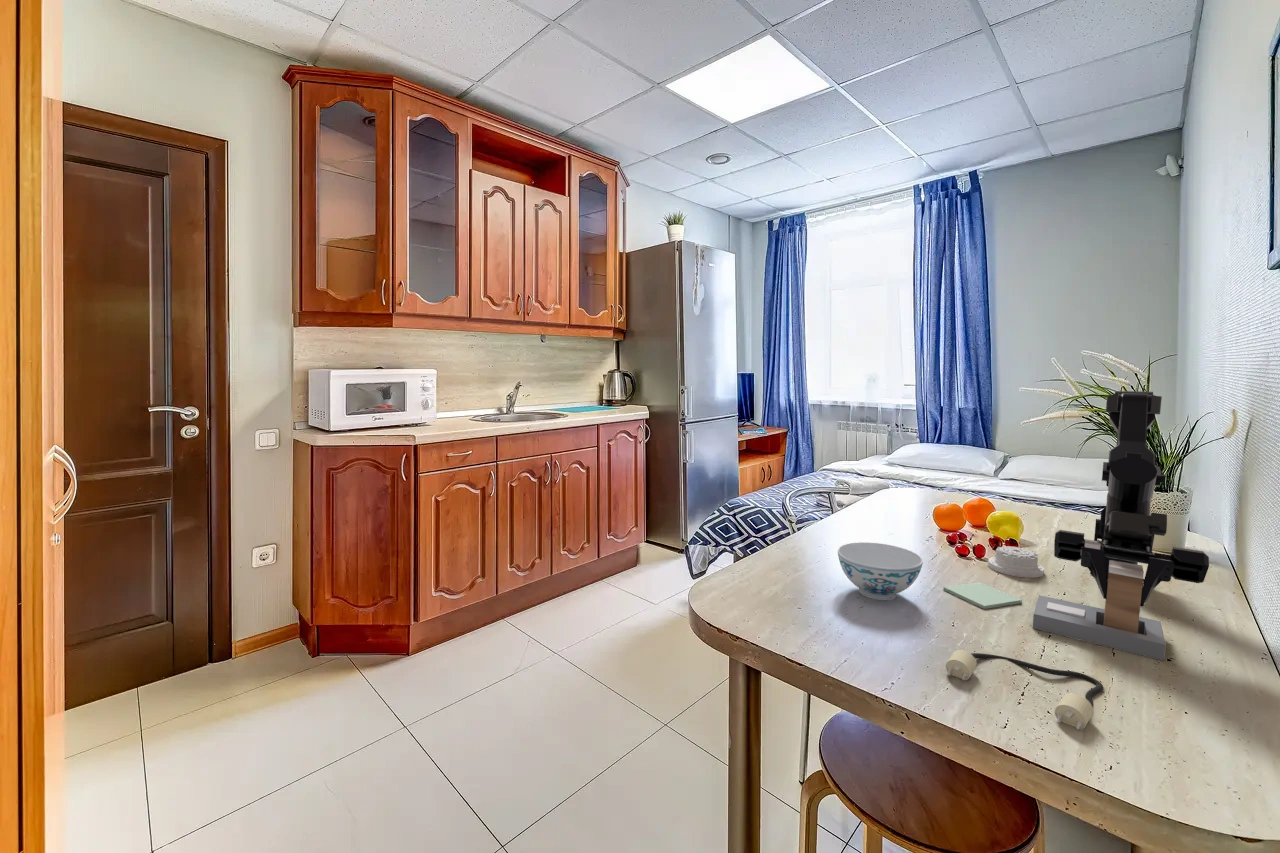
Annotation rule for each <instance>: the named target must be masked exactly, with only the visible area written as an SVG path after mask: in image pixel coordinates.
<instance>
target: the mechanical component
mask: <svg viewBox="0 0 1280 853" xmlns="http://www.w3.org/2000/svg"><path fill="white" fill-rule="evenodd" d="M1038 558H1039V556H1038V553H1037V552H1035V551H1034V550H1029V549H1026V548H1021V547H1017V546H1009V545H1007V546H1006V545H1004V546H997V548H996V549H995V556H992V557H990V558H988V559H987V560H988V561H987V562H988V564H987V566H988V567H989V568H990V569H991V570H993V571H996V572H997V573H1001V574H1004V575H1008V576H1013V577H1019V578H1027V579H1028V578H1030V579H1035V578H1041V577H1043V576H1044V574H1045V568H1044V567H1043V566H1042V565H1041V564H1039V563H1038V560H1039V559H1038Z"/></svg>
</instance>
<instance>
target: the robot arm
mask: <svg viewBox="0 0 1280 853" xmlns="http://www.w3.org/2000/svg"><path fill="white" fill-rule="evenodd" d="M1162 399H1163V398H1162V396H1160V395H1159V396H1158V395H1155V394H1154V392H1153V391H1137V390H1136V391H1133V390H1115V391H1114V393H1113V394H1108V395H1106V403H1105V413H1109V418H1108V419H1109V420H1108V421H1109V424H1110V425H1111V426H1112V428H1113V429H1114V431H1115V432H1116V433H1117V435H1116V444H1115V445H1116V446H1114V447H1113V448H1111V449H1110V450H1109V452H1108V462H1107V461H1103V463H1102V464H1103V465H1102V473H1101V481H1102V482H1106V487H1108V488H1107V495H1106V504H1105V506H1104V507H1103V509H1101V512H1100V518H1096V519H1095V526H1094V536H1093V539H1086V538H1085V533H1084V532H1077V531H1071V530H1064V529H1059V530H1057V531H1056V532H1055V534H1054V543H1053V544H1054V546H1053V548H1054V549H1053V550H1054V552H1053V553H1054V554H1053V555H1054V558H1057V559H1060V560H1065V561H1071V562H1076V563H1077V562H1078V561H1080V566H1081V567H1083V568H1087V569H1088V570H1089V571H1090V572H1089V574H1090V575H1092V577H1093V579H1094V580H1095V582H1096V585H1097V586H1098V589H1099V592H1100V594H1101V596H1102V598H1103V599H1105V600H1106V598H1107V580H1108V570H1109V560H1113V561H1119V562H1125V563H1130V564H1136V565H1139V564H1146V565H1147V566H1146V571H1145V576H1144V578H1143V584H1142V594H1141V604H1140V607H1144V606H1145V605H1146V602H1147V600H1148V598H1149V597H1150V596H1151V594H1152V593H1153V590H1154V589H1156V587H1157V586H1159V585H1160V583H1161V582H1165V583H1166V582H1167V583H1169V582H1171V581H1172V580H1171V579H1172V578H1173V579H1174V580H1178V581H1182V582H1188V583H1193V584H1201V583H1204V581H1205V579H1206V576H1207V573H1208V570H1209V568H1210V558H1209V555H1208V554H1206V553H1205V552H1204V551H1203V550H1196V549H1192V548H1191V549H1189V548H1184V547H1176V546H1173V547H1172V549H1171V553H1170V554H1167V553H1160V552H1154V551H1153V546H1154V540H1155V536H1160V537H1161V536H1163V537H1164V536H1165V535H1166V534H1167V530H1168V528H1167V527H1168V514H1167V513H1166V514H1165V513H1160V512H1159V513H1158V512H1151V503H1152V502H1151V500H1152V498H1153V497H1154V496H1153V495H1154V491H1155V487H1160V486H1161V484H1166V477H1167V476H1166V474H1165V473H1163V471H1162V470H1161V467H1160V466H1156V453H1154V452H1153V451H1152V450H1151V449H1150V448H1148V447H1147V441H1148V440H1147V438H1148V429H1150V428H1151V426H1152V425H1153V423H1154V421H1155V419H1156V418H1155V417H1156V415H1160V414H1161V410H1162Z"/></svg>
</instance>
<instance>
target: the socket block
mask: <svg viewBox="0 0 1280 853" xmlns="http://www.w3.org/2000/svg"><path fill="white" fill-rule="evenodd" d="M1104 612H1105V608H1101V607H1096V606H1091V605H1087V604H1082V603H1079V602H1073V601H1069V600H1063V599H1059V598H1055V597H1050V596H1045V595H1041V594H1039V595H1038V597H1037V601H1036V604H1035V607H1034V612H1033V616H1032V629H1034V630H1040V631H1043V632H1047V633H1050V634H1051V633H1052V634H1055V635H1059V636H1063V637H1068V638H1072V639H1075V640H1079V641H1082V642H1083V641H1084V642H1088V643H1090V644H1094V645H1099V646H1102V647H1108V648H1111V649H1116V650H1120V651H1124V652H1127V653H1132V654H1135V653H1136V654H1135V655H1140V656H1144V657H1147V658H1151V659H1154V660H1155V659H1156V660H1159V661H1163V662H1165V658H1166V657H1165V656H1166V647H1167V644H1166V639H1165V635H1164V630H1163V625H1162V621H1161V620H1156V619H1152V618H1148V617H1143V616H1139V624H1138V633H1133V632H1129V631H1125V630H1120V629H1116V628H1112V627H1107V626H1103V623H1104Z"/></svg>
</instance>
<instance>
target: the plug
mask: <svg viewBox="0 0 1280 853" xmlns="http://www.w3.org/2000/svg"><path fill="white" fill-rule="evenodd" d="M1143 566H1144V565H1141V564H1138V565H1136V564H1130V563H1125V562H1119V561H1113V560H1109V570H1108V580H1107V598H1106V599H1105V601H1104V602H1105V604H1104V609H1105V612H1104V623H1103V626H1107V627H1112V628H1116V629H1120V630H1125V631H1129V632H1133V633H1138V624H1139V617H1140V615H1141V614H1140V612H1141V606H1140V604H1141V594H1142V587H1143V583H1144V582H1143V579H1144V567H1143Z"/></svg>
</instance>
